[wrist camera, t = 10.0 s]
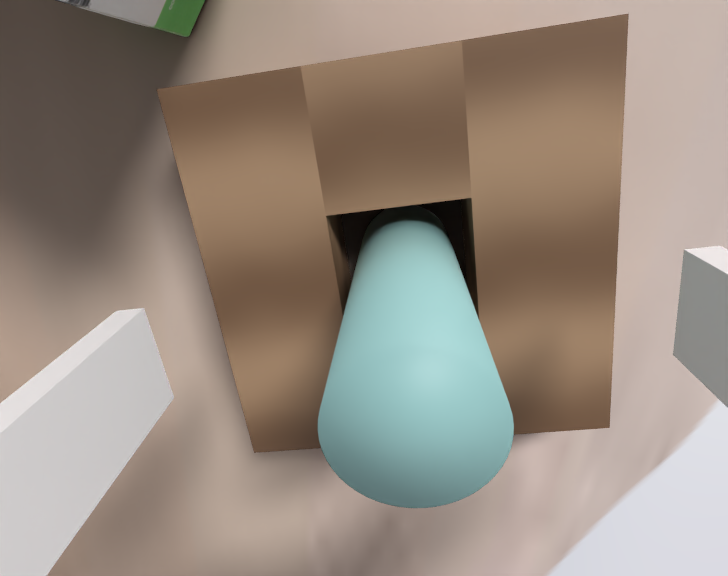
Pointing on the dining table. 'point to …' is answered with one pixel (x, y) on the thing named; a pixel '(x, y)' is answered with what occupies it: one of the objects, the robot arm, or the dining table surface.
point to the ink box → (148, 12)
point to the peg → (412, 373)
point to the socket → (411, 187)
